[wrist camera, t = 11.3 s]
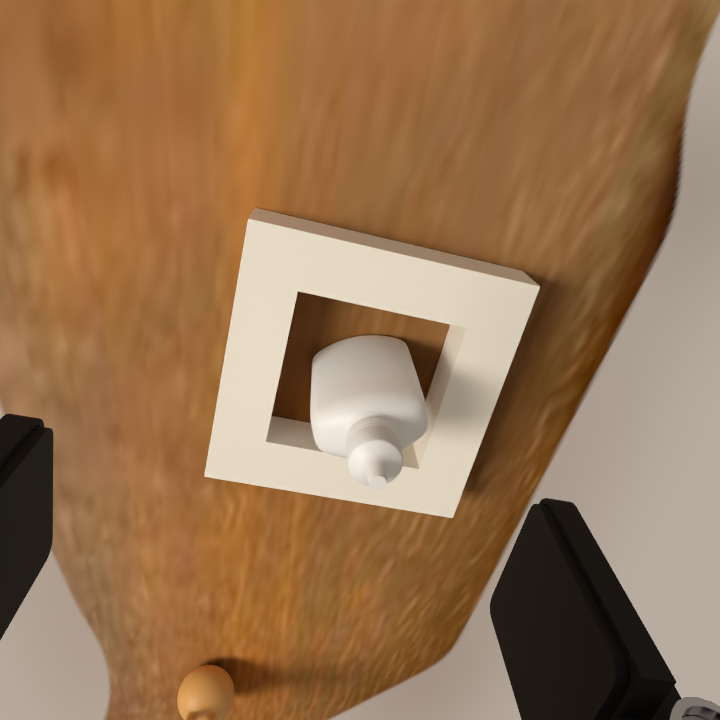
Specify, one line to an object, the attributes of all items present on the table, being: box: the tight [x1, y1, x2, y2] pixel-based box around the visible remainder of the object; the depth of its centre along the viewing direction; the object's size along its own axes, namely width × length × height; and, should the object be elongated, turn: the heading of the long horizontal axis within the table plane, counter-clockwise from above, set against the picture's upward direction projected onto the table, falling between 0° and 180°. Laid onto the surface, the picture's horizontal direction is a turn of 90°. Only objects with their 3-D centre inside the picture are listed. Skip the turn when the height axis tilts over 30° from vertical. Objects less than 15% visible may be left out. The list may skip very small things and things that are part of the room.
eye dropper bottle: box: [310, 335, 428, 490], centre depth 29 cm, size 4×6×12 cm
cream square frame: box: [204, 208, 540, 518], centre depth 34 cm, size 15×15×3 cm
